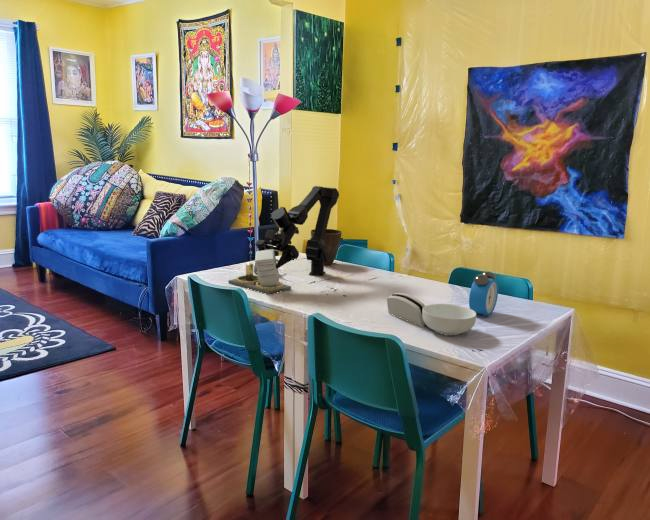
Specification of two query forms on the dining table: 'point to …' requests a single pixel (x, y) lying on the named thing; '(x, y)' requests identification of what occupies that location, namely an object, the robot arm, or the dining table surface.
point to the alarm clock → (483, 294)
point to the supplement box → (267, 268)
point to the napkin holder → (406, 307)
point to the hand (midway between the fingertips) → (267, 266)
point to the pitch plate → (256, 282)
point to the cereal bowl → (448, 318)
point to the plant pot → (331, 243)
